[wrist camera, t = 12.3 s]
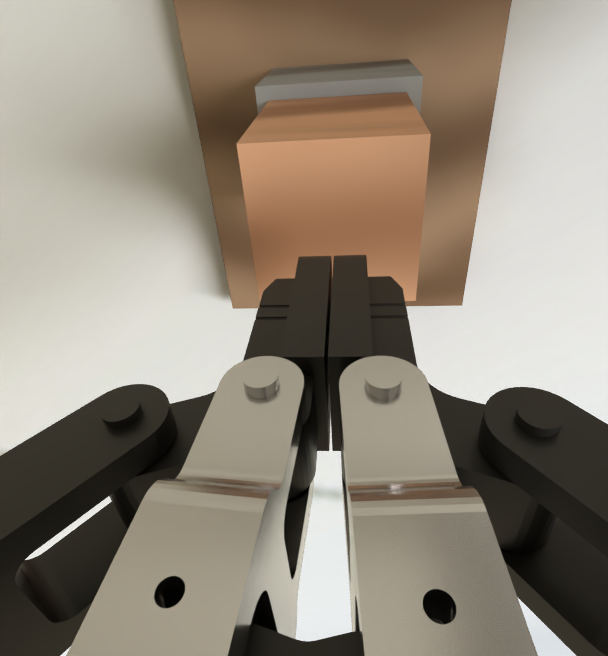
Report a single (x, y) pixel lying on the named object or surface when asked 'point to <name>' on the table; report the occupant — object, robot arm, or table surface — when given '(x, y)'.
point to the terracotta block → (336, 184)
